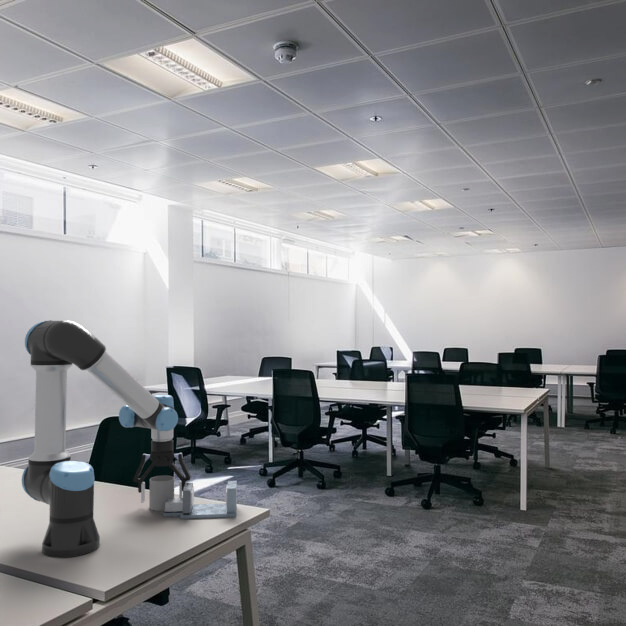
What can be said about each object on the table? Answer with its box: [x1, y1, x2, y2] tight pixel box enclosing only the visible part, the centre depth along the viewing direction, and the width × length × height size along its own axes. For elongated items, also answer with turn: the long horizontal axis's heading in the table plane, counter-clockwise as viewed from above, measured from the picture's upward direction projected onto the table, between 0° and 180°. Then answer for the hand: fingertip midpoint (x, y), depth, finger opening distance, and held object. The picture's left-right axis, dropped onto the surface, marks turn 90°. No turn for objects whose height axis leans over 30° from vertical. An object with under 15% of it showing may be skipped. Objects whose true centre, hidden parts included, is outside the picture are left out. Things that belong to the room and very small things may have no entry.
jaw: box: [165, 482, 195, 513], centre depth 199 cm, size 10×9×8 cm
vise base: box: [163, 480, 238, 520], centre depth 200 cm, size 12×24×9 cm, turn 97°
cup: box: [148, 475, 175, 512], centre depth 207 cm, size 8×8×10 cm
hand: (162, 501), depth 207 cm, fingers open, 12 cm apart
